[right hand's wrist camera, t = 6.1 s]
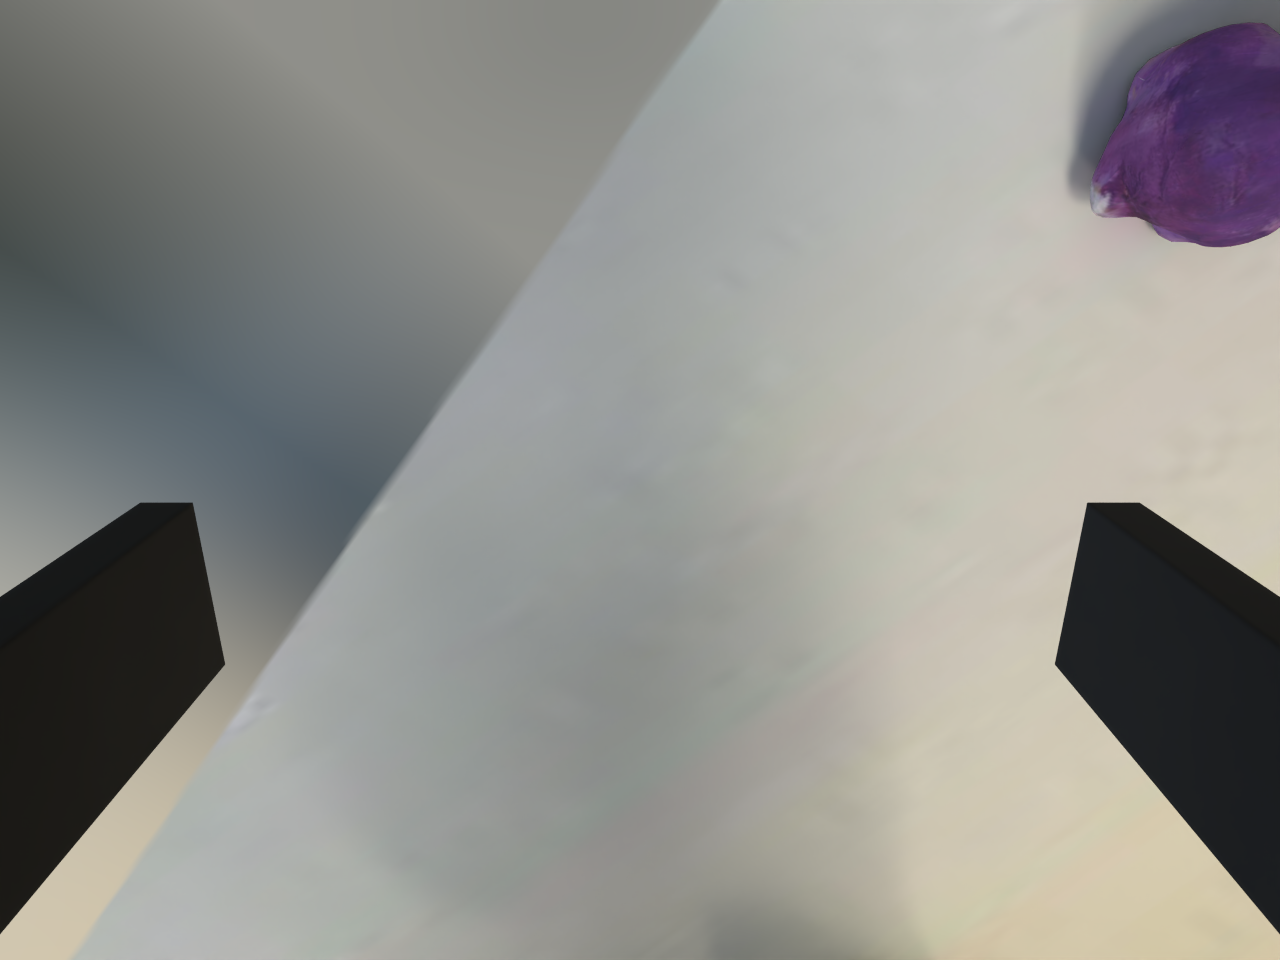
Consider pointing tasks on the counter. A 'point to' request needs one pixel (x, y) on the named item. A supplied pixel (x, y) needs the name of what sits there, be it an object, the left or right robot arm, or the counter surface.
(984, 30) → the counter surface
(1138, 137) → the figurine
